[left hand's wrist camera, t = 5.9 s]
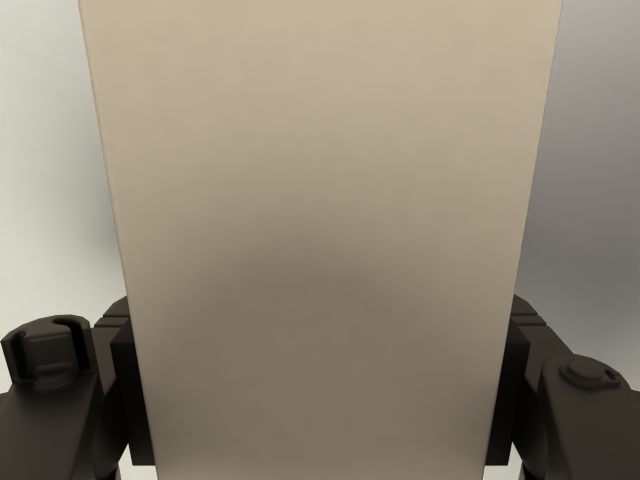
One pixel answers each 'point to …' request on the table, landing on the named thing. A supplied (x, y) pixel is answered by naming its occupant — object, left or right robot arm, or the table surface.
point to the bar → (320, 224)
